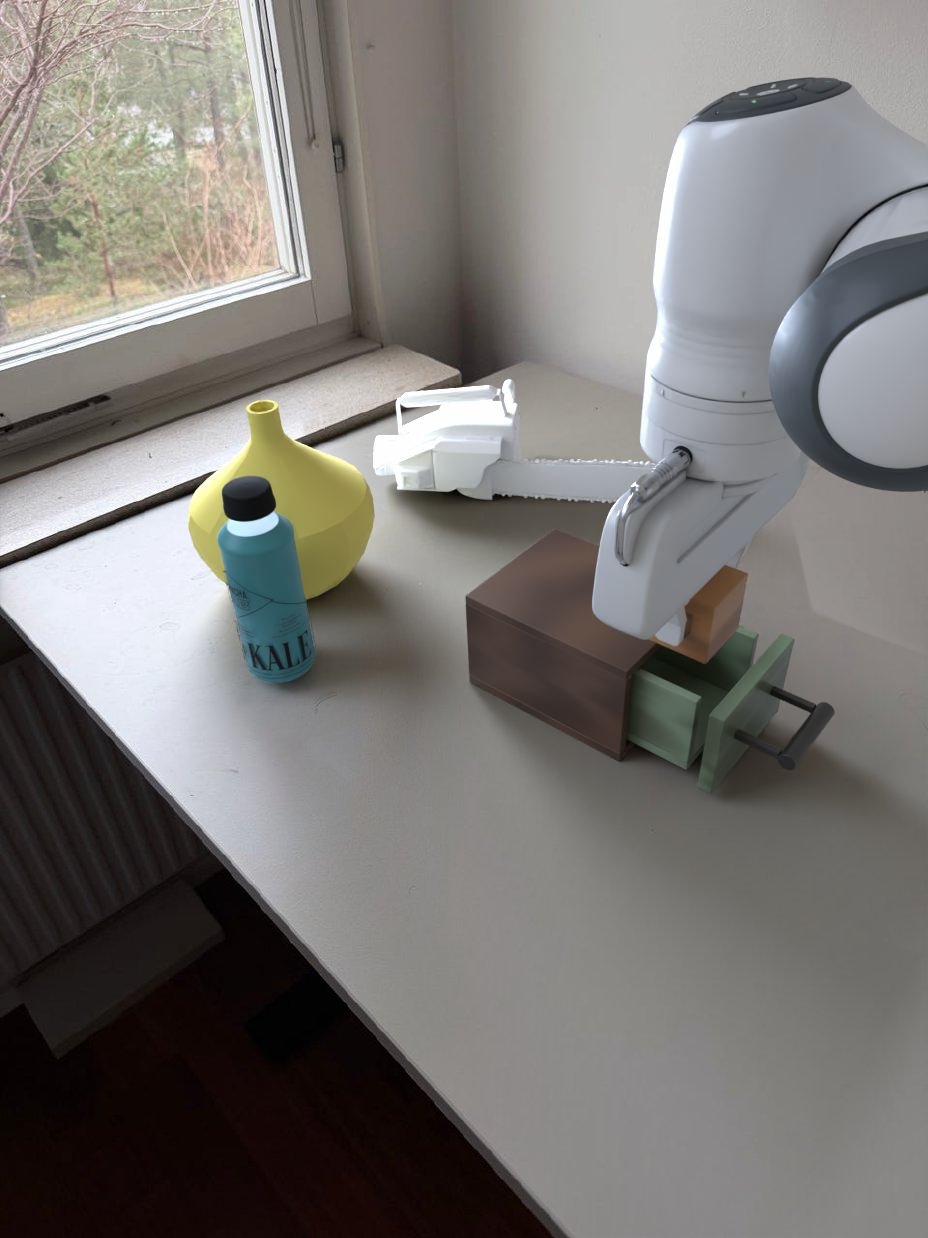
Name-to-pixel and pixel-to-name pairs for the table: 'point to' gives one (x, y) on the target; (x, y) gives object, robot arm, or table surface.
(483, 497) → the chainsaw
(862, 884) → the table surface
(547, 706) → the cabinet
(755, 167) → the robot arm
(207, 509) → the vase
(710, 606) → the block
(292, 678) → the beverage bottle
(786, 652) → the drawer
